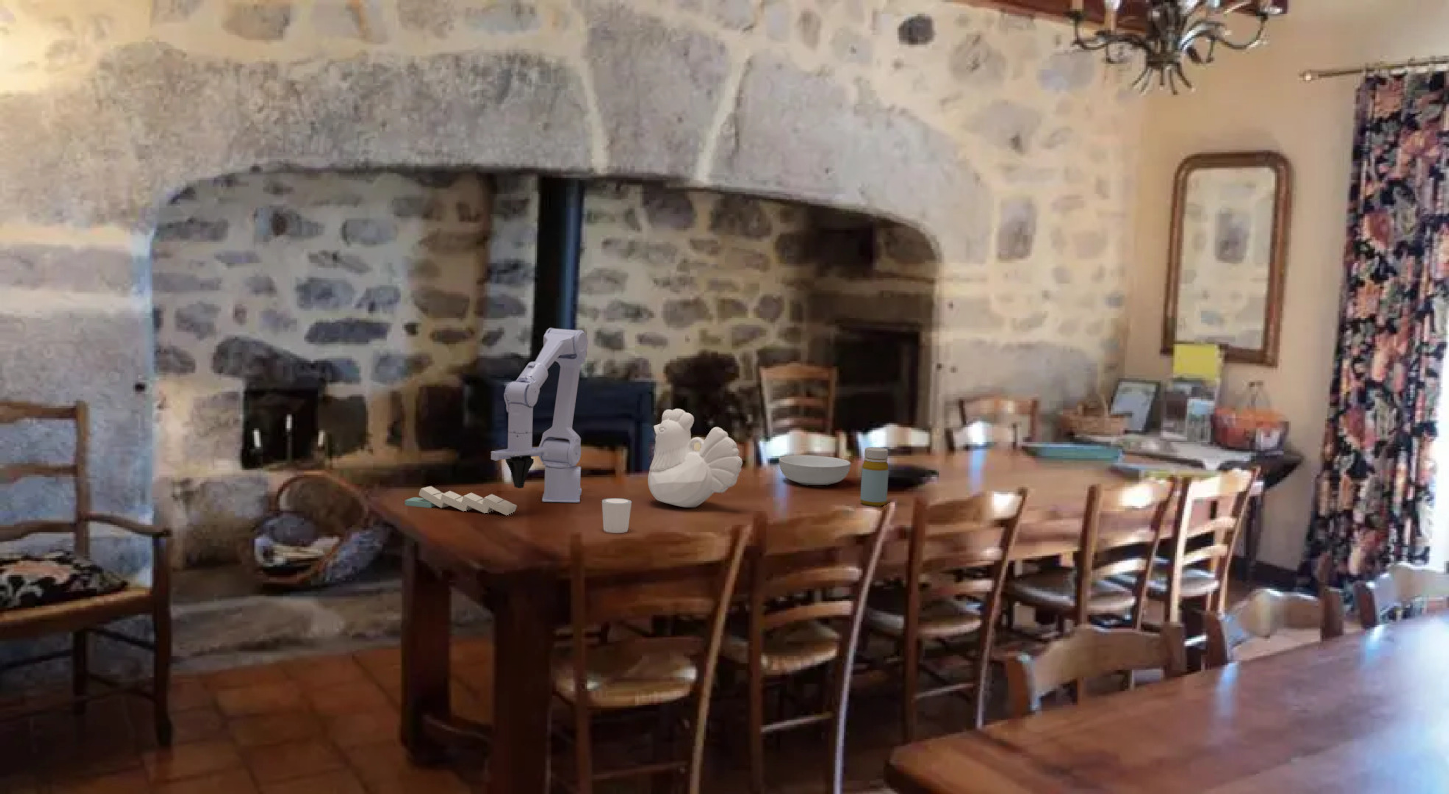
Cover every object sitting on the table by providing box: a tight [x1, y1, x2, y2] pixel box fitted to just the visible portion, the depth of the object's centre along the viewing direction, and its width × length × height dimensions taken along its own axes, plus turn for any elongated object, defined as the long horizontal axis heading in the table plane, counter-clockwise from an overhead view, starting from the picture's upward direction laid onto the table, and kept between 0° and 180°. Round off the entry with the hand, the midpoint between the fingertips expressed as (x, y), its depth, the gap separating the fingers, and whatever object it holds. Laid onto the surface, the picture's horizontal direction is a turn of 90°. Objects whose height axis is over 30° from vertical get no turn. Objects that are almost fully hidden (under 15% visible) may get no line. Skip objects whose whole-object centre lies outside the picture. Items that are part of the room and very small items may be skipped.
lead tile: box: [482, 493, 518, 516], centre depth 289 cm, size 2×4×7 cm
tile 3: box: [440, 490, 473, 512], centre depth 291 cm, size 2×4×7 cm
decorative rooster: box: [647, 408, 743, 508], centre depth 305 cm, size 25×16×25 cm, turn 54°
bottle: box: [860, 446, 889, 507], centre depth 320 cm, size 7×7×15 cm
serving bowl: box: [778, 454, 852, 486], centre depth 347 cm, size 21×21×7 cm
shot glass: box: [601, 497, 632, 534], centre depth 277 cm, size 7×7×7 cm
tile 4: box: [461, 492, 495, 514], centre depth 290 cm, size 2×4×7 cm
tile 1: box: [404, 496, 438, 509], centre depth 294 cm, size 2×4×7 cm
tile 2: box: [418, 485, 450, 509], centre depth 294 cm, size 2×4×7 cm
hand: (518, 487), depth 287 cm, fingers closed
